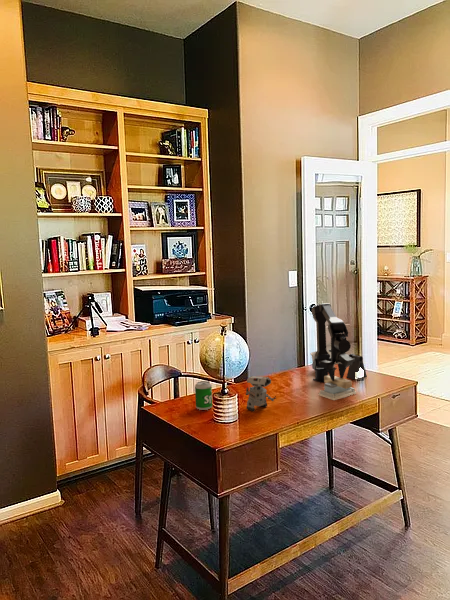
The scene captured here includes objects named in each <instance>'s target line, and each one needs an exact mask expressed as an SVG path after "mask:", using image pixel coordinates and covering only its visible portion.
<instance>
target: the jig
mask: <svg viewBox="0 0 450 600" xmlns="http://www.w3.org/2000/svg"><path fill="white" fill-rule="evenodd" d="M353 394H354V395H356V394H357V391H356V388H355V387H353V386H352V387H350V390H346V391H343V392H339V393H336V394H332V393H328V392H325V391H324V389H323V390H319V393H318V396H320V397H323V398H326V399H329V400H331V401H337V400H340V399H344V398H347V397H350V395H351V396H354V395H353Z"/></svg>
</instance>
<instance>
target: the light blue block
mask: <svg viewBox="0 0 450 600" xmlns="http://www.w3.org/2000/svg"><path fill="white" fill-rule="evenodd" d="M323 387H324V389H323V390H324V391H325V392H328V393H332V394H336V393H339V392H343V391H346V390H350V388H347V389H345V388H342V387H338V386H337V385H336V384H333V383H330V382H328V383H325V382H324V386H323Z"/></svg>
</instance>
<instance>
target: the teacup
mask: <svg viewBox="0 0 450 600" xmlns="http://www.w3.org/2000/svg"><path fill="white" fill-rule="evenodd" d="M316 352H317V350H316V351H312V352H311V353H310V356H311V359H312V362H313V361H314V359H315V354H316ZM327 352H328V354H330V358H331V352H329V351H327Z"/></svg>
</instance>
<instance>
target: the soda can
mask: <svg viewBox="0 0 450 600" xmlns="http://www.w3.org/2000/svg"><path fill="white" fill-rule="evenodd" d="M212 386H213V385H212V384H211V383H210V381H207V380H201V381H198V382H196V384H195V385H194V395H195V397H194V398H195V408H196V409H197V410H198V409H199V410H198V411H200V410H207V411H209V410H208V409H210V408H212V407H213V389H212ZM210 410H211V409H210Z"/></svg>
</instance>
